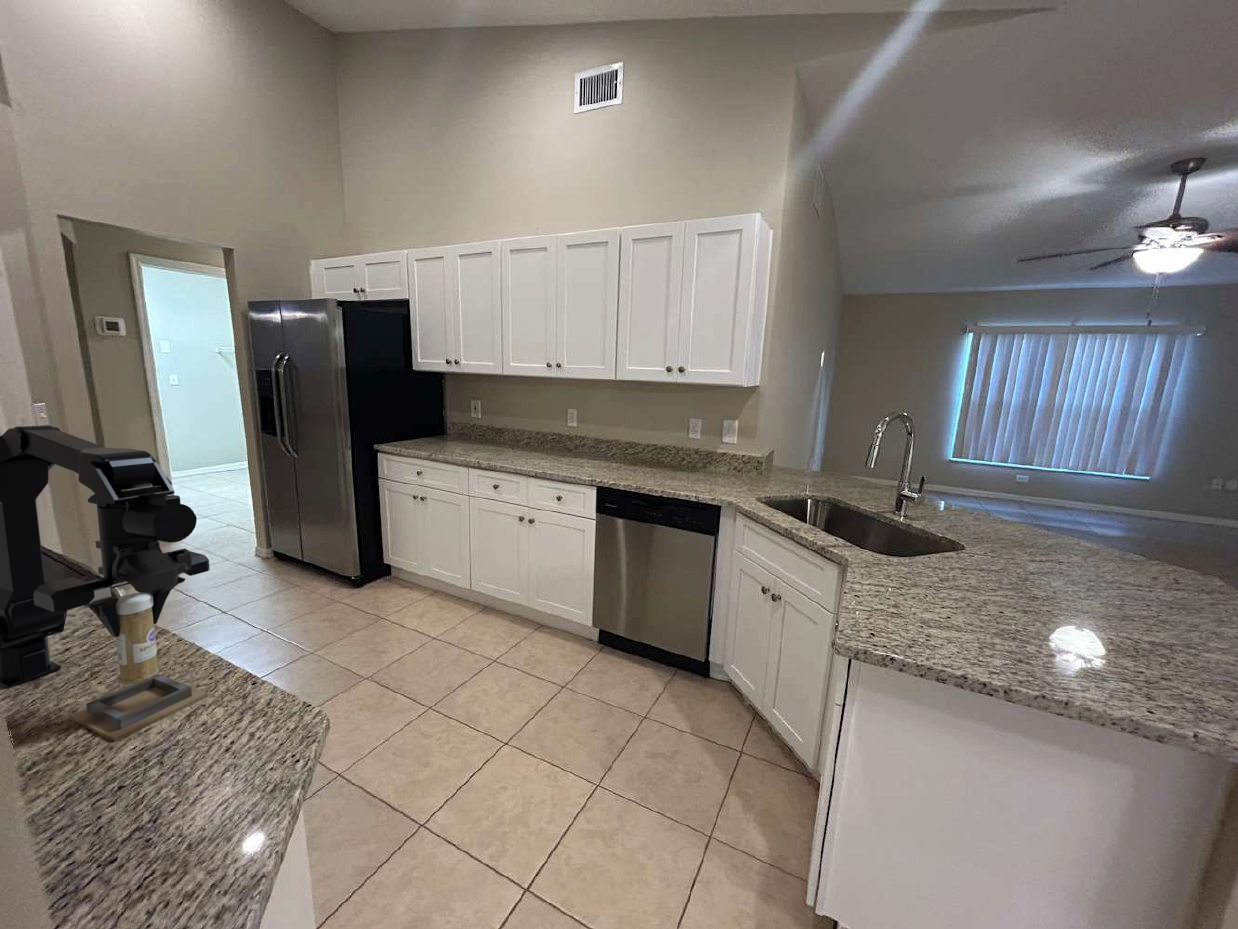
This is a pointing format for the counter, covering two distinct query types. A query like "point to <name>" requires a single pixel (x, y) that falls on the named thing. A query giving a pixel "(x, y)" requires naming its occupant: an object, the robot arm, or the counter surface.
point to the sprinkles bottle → (136, 638)
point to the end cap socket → (136, 706)
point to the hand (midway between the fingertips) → (134, 630)
